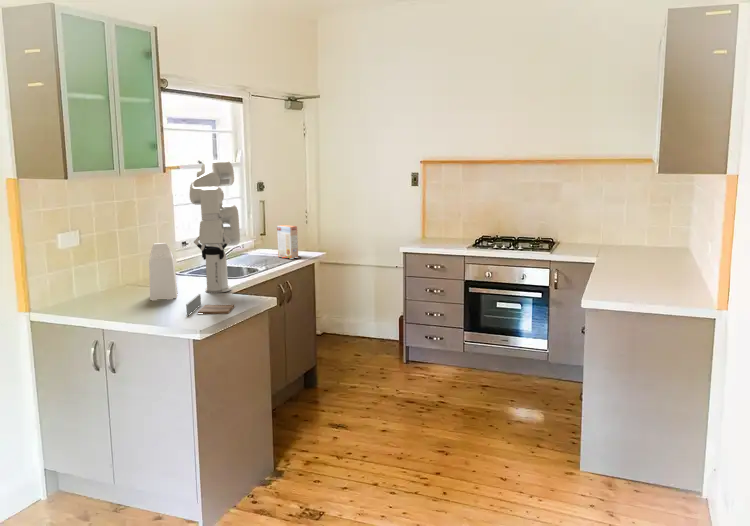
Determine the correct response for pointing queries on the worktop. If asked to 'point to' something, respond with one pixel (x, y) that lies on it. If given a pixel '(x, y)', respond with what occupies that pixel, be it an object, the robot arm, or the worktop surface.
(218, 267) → the travel mug
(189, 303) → the acrylic wall
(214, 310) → the walnut board
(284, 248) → the cracker box
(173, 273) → the milk
